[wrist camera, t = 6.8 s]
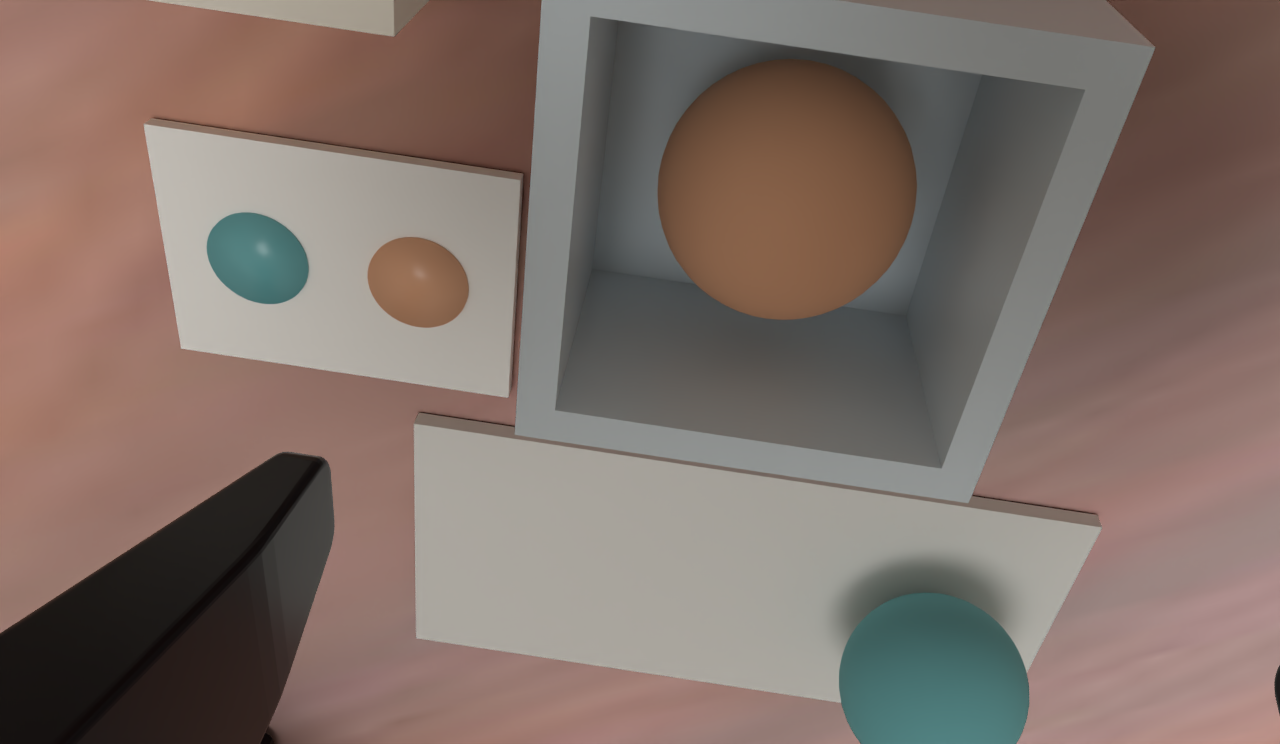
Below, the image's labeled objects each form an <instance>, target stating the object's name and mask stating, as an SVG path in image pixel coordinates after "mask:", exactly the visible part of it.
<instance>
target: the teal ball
mask: <svg viewBox="0 0 1280 744" xmlns="http://www.w3.org/2000/svg"><path fill="white" fill-rule="evenodd" d="M839 691H840V698H841V704H842V707H843V710H844V713H845V716H846V719H847V722H848V723H849V725H850V727H851V729H852V731H853V733H854V734H855V736H856V738H857V739H858V740H859V742H860V743H861V744H1016V743H1017V741H1018V740H1019V738H1020V736H1021V734H1022V731H1023V729H1024V726H1025V723H1026V719H1027V715H1028V708H1029V684H1028V678H1027V673H1026V669H1025V666H1024V663H1023V660H1022V658H1021V655H1020V653H1019V651H1018V649H1017V647H1016V646H1015V644H1014V642H1013V641H1012V639H1011V638H1010V636H1009V635H1008V634H1007V632H1006V631H1005V630H1004V629H1003V627H1002V626H1001V625H1000V624H999V623H998V622H997V621H996V620H994V619H993V618H992V617H991V616H990V615H989V614H987V613H986V612H985V611H983V610H982V609H980V608H978V607H976V606H975V605H973V604H971V603H969V602H967V601H965V600H962V599H959V598H956V597H953V596H950V595H945V594H940V593H913V594H907V595H903V596H900V597H897V598H894V599H891V600H889V601H887V602H885V603H883V604H882V605H880V606H879V607H877V608H875V609H874V610H872V611H871V612H870V613H869V614H868V615H867V616H866V617H865V618H864V619H863V620H862V621H861V622H860V623H859V624H858V625H857V627H856V628H855V629H854V631H853V633H852V634H851V636H850V638H849V639H848V642H847V644H846V646H845V649H844V652H843V655H842V659H841V663H840V669H839Z"/></svg>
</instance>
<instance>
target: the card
mask: <svg viewBox="0 0 1280 744" xmlns="http://www.w3.org/2000/svg"><path fill="white" fill-rule="evenodd" d="M144 129H145V135H146V141H147V147H148V153H149V159H150V165H151V171H152V177H153V183H154V189H155V195H156V201H157V207H158V213H159V219H160V225H161V231H162V237H163V243H164V248H165V254H166V260H167V266H168V272H169V278H170V284H171V290H172V296H173V302H174V308H175V314H176V320H177V326H178V332H179V338H180V344H181V349H188V350H194V351H201V352H208V353H214V354H221V355H228V356H234V357H241V358H247V359H254V360H261V361H267V362H274V363H281V364H287V365H294V366H300V367H307V368H314V369H320V370H327V371H334V372H340V373H347V374H354V375H360V376H367V377H373V378H380V379H387V380H393V381H400V382H407V383H413V384H420V385H426V386H433V387H440V388H446V389H453V390H460V391H466V392H473V393H479V394H486V395H493V396H499V397H506V398H508V397H509V394H510V391H511V382H512V365H513V347H514V330H515V313H516V295H517V278H518V261H519V244H520V226H521V209H522V192H523V174H522V173H516V172H509V171H502V170H496V169H489V168H482V167H476V166H469V165H462V164H455V163H449V162H442V161H435V160H429V159H422V158H415V157H409V156H402V155H395V154H389V153H382V152H375V151H368V150H362V149H355V148H348V147H342V146H335V145H328V144H322V143H315V142H308V141H302V140H295V139H288V138H281V137H275V136H268V135H261V134H255V133H248V132H241V131H235V130H228V129H221V128H215V127H208V126H201V125H194V124H188V123H181V122H174V121H168V120H161V119H154V118H151V119H150V120H148V121H147V122H146V123H144Z"/></svg>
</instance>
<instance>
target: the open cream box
mask: <svg viewBox="0 0 1280 744" xmlns="http://www.w3.org/2000/svg"><path fill="white" fill-rule="evenodd" d="M150 1H157V2H164V3H170V4H177V5H184V6H191V7H197V8H204V9H211V10H217V11H224V12H231V13H238V14H244V15H251V16H258V17H264V18H271V19H278V20H285V21H291V22H298V23H305V24H312V25H318V26H325V27H332V28H338V29H345V30H352V31H359V32H365V33H372V34H379V35H385V36H392V37H395V36H396V35H397V33H398V32H399V31H400V30H401V29H402V28H403V27H404V26H405V25H406V24H407V23H408V22H409V21H410V20H411V19H412V18H413V17H414V16H415V15H416V14H417V13H418V12H419V11H420V10H421V9H422V8H423V7H424V5H425V4H426V3H427V2H428V1H429V0H150Z"/></svg>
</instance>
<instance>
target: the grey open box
mask: <svg viewBox="0 0 1280 744" xmlns="http://www.w3.org/2000/svg"><path fill="white" fill-rule="evenodd" d="M1155 48H1156V47H1155V46H1154V45H1152V44H1151V43H1150V42H1149V41H1148V40H1147V39H1146V38H1145V37H1144V36H1143V35H1142V34H1141V33H1140V32H1139V31H1138V30H1137V29H1136V28H1135V27H1134V26H1132V25H1131V24H1130V23H1129V22H1128V21H1127V20H1126V19H1125V18H1124V17H1123V16H1122V15H1121V14H1120V13H1119V12H1118V11H1117V10H1116V9H1115V8H1113V7H1112V6H1111V5H1110V4H1109V3H1108V2H1107V1H1106V0H542V4H541V20H540V36H539V52H538V68H537V84H536V100H535V116H534V132H533V148H532V164H531V180H530V196H529V212H528V228H527V244H526V260H525V276H524V293H523V309H522V325H521V341H520V357H519V373H518V389H517V405H516V421H515V435H519V436H526V437H532V438H539V439H546V440H552V441H559V442H565V443H572V444H579V445H585V446H592V447H598V448H605V449H612V450H618V451H625V452H632V453H638V454H645V455H651V456H658V457H665V458H671V459H678V460H685V461H691V462H698V463H704V464H711V465H718V466H724V467H731V468H738V469H744V470H751V471H757V472H764V473H771V474H777V475H784V476H791V477H797V478H804V479H810V480H817V481H824V482H830V483H837V484H844V485H850V486H857V487H863V488H870V489H877V490H883V491H890V492H896V493H903V494H910V495H916V496H923V497H930V498H936V499H943V500H949V501H956V502H963V503H969V501H970V499H971V496H972V494H973V491H974V489H975V486H976V484H977V482H978V479H979V477H980V474H981V472H982V469H983V467H984V464H985V462H986V460H987V457H988V455H989V452H990V450H991V447H992V445H993V442H994V440H995V438H996V435H997V433H998V430H999V428H1000V425H1001V423H1002V421H1003V418H1004V416H1005V413H1006V411H1007V408H1008V406H1009V403H1010V401H1011V399H1012V396H1013V394H1014V391H1015V389H1016V386H1017V384H1018V382H1019V379H1020V377H1021V374H1022V372H1023V369H1024V367H1025V364H1026V362H1027V360H1028V357H1029V355H1030V352H1031V350H1032V347H1033V345H1034V343H1035V340H1036V338H1037V335H1038V333H1039V330H1040V328H1041V325H1042V323H1043V321H1044V318H1045V316H1046V313H1047V311H1048V308H1049V306H1050V304H1051V301H1052V299H1053V296H1054V294H1055V291H1056V289H1057V286H1058V284H1059V282H1060V279H1061V277H1062V274H1063V272H1064V269H1065V267H1066V265H1067V262H1068V260H1069V257H1070V255H1071V252H1072V250H1073V247H1074V245H1075V243H1076V240H1077V238H1078V235H1079V233H1080V230H1081V228H1082V226H1083V223H1084V221H1085V218H1086V216H1087V213H1088V211H1089V208H1090V206H1091V204H1092V201H1093V199H1094V196H1095V194H1096V191H1097V189H1098V186H1099V184H1100V182H1101V179H1102V177H1103V174H1104V172H1105V169H1106V167H1107V165H1108V162H1109V160H1110V157H1111V155H1112V152H1113V150H1114V147H1115V145H1116V143H1117V140H1118V138H1119V135H1120V133H1121V130H1122V128H1123V126H1124V123H1125V121H1126V118H1127V116H1128V113H1129V111H1130V108H1131V106H1132V104H1133V101H1134V99H1135V96H1136V94H1137V91H1138V89H1139V87H1140V84H1141V82H1142V79H1143V77H1144V74H1145V72H1146V69H1147V67H1148V65H1149V62H1150V60H1151V57H1152V55H1153V52H1154V50H1155ZM780 59H801V60H811V61H815V62H820V63H825V64H828V65H831V66H833V67H836V68H839V69H842V70H843V71H845V72H847V73H849V74H851V75H853V76H855V77H856V78H858V79H859V80H861V81H862V82H863V83H865V84H866V85H868V86H869V87H870V88H872V89H873V90H874V91H875V92H876V93H877V94H878V95H879V96H880V97H881V98H882V99H884V100H885V102H886V103H887V104H888V106H889V107H890V108H891V109H892V111H893V112H894V113H895V115H896V117H897V118H898V120H899V122H900V124H901V126H902V127H903V129H904V131H905V133H906V135H907V138H908V141H909V143H910V146H911V149H912V153H913V158H914V163H915V168H916V178H917V193H916V204H915V211H914V215H913V220H912V224H911V227H910V229H909V232H908V235H907V237H906V240H905V242H904V244H903V246H902V248H901V249H900V251H899V253H898V255H897V257H896V259H895V260H894V261H893V263H892V264H891V266H890V267H889V268H888V270H887V271H886V272H885V273H884V274H883V275H882V276H881V277H880V278H879V280H878V281H877V282H876V283H874V284H873V285H872V286H871V287H870V288H869V289H867V290H866V291H865V292H864V293H863V294H861V295H860V296H858V297H857V298H855V299H854V300H852V301H851V302H849V303H847V304H845V305H843V306H841V307H839V308H837V309H835V310H832V311H830V312H827V313H824V314H821V315H817V316H813V317H809V318H802V319H793V320H776V319H765V318H760V317H755V316H751V315H748V314H745V313H741V312H738V311H736V310H734V309H732V308H730V307H728V306H725V305H724V304H722V303H720V302H719V301H717V300H715V299H714V298H712V297H711V296H709V295H708V294H707V293H705V292H704V291H703V290H702V289H700V288H699V287H698V286H697V285H696V284H695V283H694V282H693V281H692V280H691V279H690V278H689V276H688V275H687V274H686V273H685V271H684V270H683V268H682V267H681V266H680V264H679V263H678V262H677V260H676V259H675V257H674V255H673V253H672V251H671V249H670V247H669V245H668V242H667V240H666V237H665V234H664V231H663V228H662V225H661V220H660V215H659V209H658V175H659V170H660V165H661V160H662V157H663V154H664V151H665V148H666V145H667V142H668V140H669V137H670V135H671V133H672V131H673V130H674V128H675V126H676V124H677V122H678V121H679V120H680V118H681V117H682V115H683V114H684V112H685V111H686V110H687V109H688V107H689V106H690V105H691V104H692V103H693V102H694V101H695V100H696V99H697V98H698V96H699V95H700V94H702V93H703V92H704V91H705V90H706V89H708V88H709V87H710V86H711V85H712V84H714V83H715V82H717V81H719V80H720V79H722V78H723V77H725V76H726V75H728V74H731V73H733V72H735V71H737V70H739V69H741V68H744V67H747V66H750V65H753V64H756V63H760V62H766V61H771V60H780Z"/></svg>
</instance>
